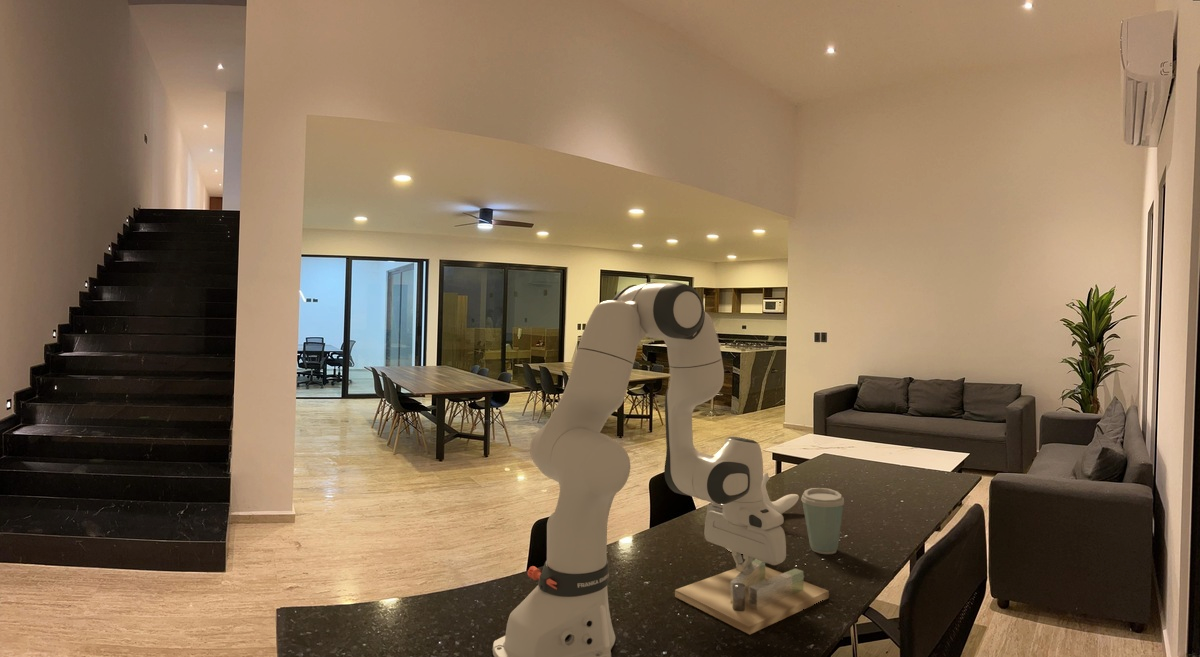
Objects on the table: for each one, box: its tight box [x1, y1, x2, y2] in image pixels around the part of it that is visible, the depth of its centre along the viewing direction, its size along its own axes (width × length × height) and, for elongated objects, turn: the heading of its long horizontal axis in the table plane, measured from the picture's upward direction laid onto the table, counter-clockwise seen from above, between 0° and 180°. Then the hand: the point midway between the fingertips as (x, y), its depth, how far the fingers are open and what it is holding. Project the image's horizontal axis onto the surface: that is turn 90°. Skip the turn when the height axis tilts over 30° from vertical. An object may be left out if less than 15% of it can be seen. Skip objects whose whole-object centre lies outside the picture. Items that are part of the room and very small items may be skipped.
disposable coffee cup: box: [800, 487, 845, 555], centre depth 157 cm, size 11×11×15 cm
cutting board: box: [674, 566, 830, 636], centre depth 130 cm, size 26×20×2 cm
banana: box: [761, 472, 800, 515], centre depth 186 cm, size 5×19×15 cm, turn 131°
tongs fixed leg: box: [749, 568, 804, 610], centre depth 126 cm, size 16×2×4 cm, turn 127°
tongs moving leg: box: [730, 558, 766, 611], centre depth 128 cm, size 19×4×5 cm, turn 147°
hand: (742, 572), depth 135 cm, fingers closed
